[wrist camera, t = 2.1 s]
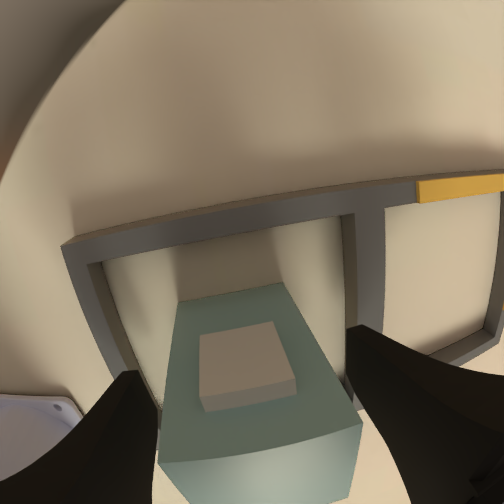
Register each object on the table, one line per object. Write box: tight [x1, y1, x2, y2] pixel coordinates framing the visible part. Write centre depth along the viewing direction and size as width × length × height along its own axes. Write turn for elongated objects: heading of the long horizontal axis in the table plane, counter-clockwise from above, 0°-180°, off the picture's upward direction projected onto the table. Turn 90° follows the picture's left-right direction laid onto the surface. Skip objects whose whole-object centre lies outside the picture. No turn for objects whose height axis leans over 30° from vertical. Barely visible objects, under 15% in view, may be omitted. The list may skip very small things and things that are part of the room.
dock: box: [60, 169, 504, 450], centre depth 12 cm, size 21×11×1 cm, turn 99°
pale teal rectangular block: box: [158, 282, 363, 504], centre depth 9 cm, size 4×4×7 cm
